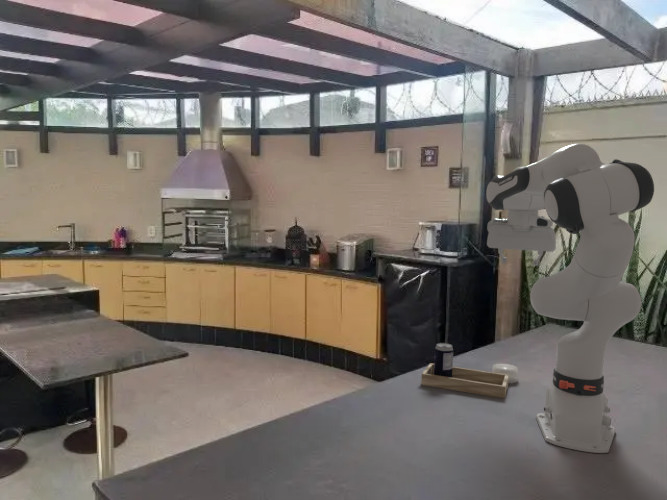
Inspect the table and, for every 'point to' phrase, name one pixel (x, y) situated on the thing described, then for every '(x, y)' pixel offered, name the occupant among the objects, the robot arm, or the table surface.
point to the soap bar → (507, 371)
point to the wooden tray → (468, 381)
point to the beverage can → (443, 360)
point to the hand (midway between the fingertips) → (519, 264)
